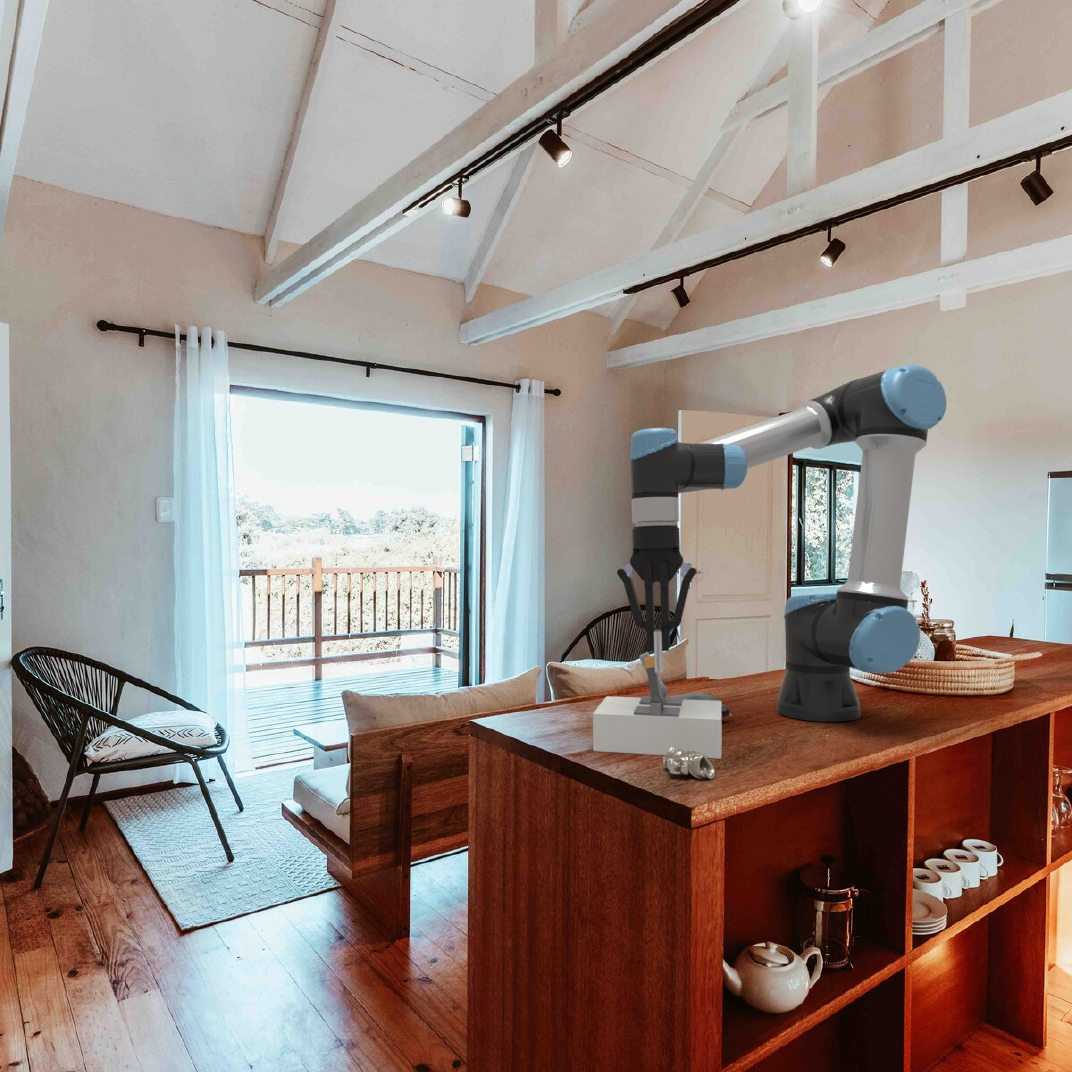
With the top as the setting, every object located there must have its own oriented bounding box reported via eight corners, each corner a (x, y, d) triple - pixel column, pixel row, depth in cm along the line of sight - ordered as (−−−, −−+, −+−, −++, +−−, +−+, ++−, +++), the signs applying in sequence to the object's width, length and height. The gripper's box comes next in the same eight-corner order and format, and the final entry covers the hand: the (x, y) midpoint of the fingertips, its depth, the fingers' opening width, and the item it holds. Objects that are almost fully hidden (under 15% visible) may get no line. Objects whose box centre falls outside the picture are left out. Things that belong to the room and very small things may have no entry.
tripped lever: (665, 704, 121) (657, 655, 122) (663, 708, 119) (655, 658, 119) (652, 706, 122) (645, 657, 122) (651, 709, 119) (643, 659, 120)
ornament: (649, 774, 108) (648, 749, 108) (679, 765, 113) (678, 740, 113) (694, 787, 102) (693, 761, 102) (723, 777, 107) (723, 751, 107)
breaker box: (721, 735, 128) (720, 652, 129) (721, 758, 115) (720, 664, 115) (606, 729, 133) (605, 649, 133) (593, 751, 120) (592, 661, 120)
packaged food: (659, 715, 145) (659, 690, 145) (719, 714, 145) (719, 688, 145) (670, 727, 136) (669, 700, 136) (733, 725, 137) (733, 698, 137)
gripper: (696, 524, 123) (700, 668, 122) (619, 526, 126) (622, 667, 125) (695, 523, 115) (698, 676, 115) (613, 525, 118) (616, 674, 118)
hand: (659, 671), depth 120 cm, fingers closed
